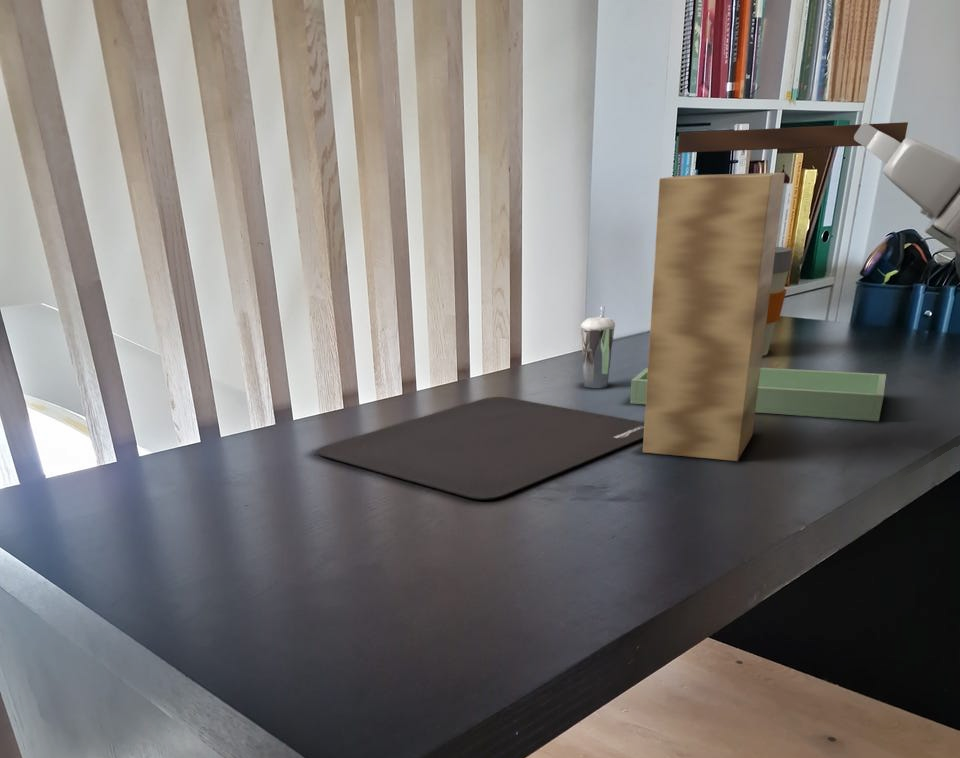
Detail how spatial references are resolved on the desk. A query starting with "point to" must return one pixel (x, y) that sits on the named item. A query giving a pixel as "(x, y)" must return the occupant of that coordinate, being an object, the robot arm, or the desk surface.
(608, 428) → the mouse pad
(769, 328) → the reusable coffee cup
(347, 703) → the desk surface
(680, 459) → the desk surface
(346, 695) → the desk surface
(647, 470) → the desk surface
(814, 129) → the stick
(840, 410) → the tray
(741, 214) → the stand
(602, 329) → the milkshake
